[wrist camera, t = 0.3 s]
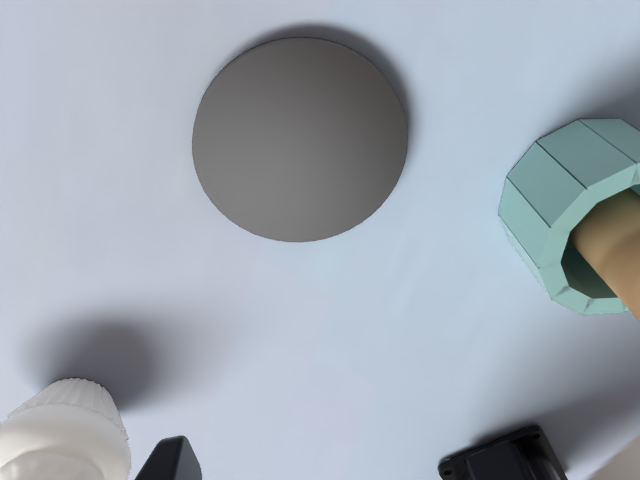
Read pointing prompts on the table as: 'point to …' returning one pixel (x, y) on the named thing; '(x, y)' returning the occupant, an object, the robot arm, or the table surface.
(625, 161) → the cup
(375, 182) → the coaster
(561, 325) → the table surface
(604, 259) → the dowel
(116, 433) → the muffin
